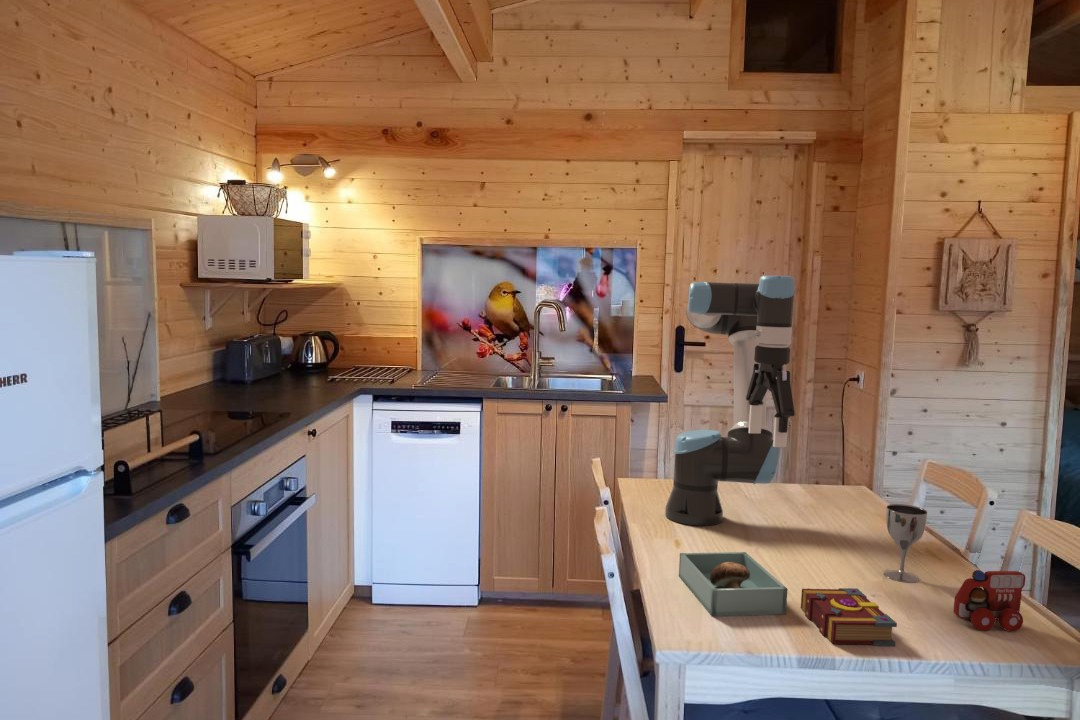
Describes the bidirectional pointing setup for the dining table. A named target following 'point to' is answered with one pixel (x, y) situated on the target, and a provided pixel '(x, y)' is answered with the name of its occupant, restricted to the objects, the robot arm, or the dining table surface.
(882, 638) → the decorative book
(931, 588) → the dining table surface
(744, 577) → the mushroom
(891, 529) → the wine glass
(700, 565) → the open rectangular box
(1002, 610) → the toy fire truck
